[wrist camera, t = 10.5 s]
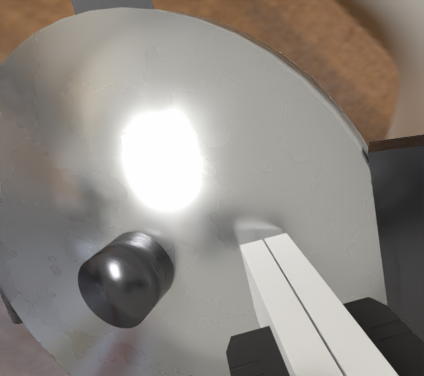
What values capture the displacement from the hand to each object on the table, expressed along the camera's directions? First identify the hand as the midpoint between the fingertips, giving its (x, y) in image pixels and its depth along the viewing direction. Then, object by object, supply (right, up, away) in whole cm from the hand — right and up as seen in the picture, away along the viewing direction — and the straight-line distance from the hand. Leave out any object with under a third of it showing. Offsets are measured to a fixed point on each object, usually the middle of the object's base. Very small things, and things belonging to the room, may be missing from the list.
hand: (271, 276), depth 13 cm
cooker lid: (-3, 0, +4) cm, 5 cm away
